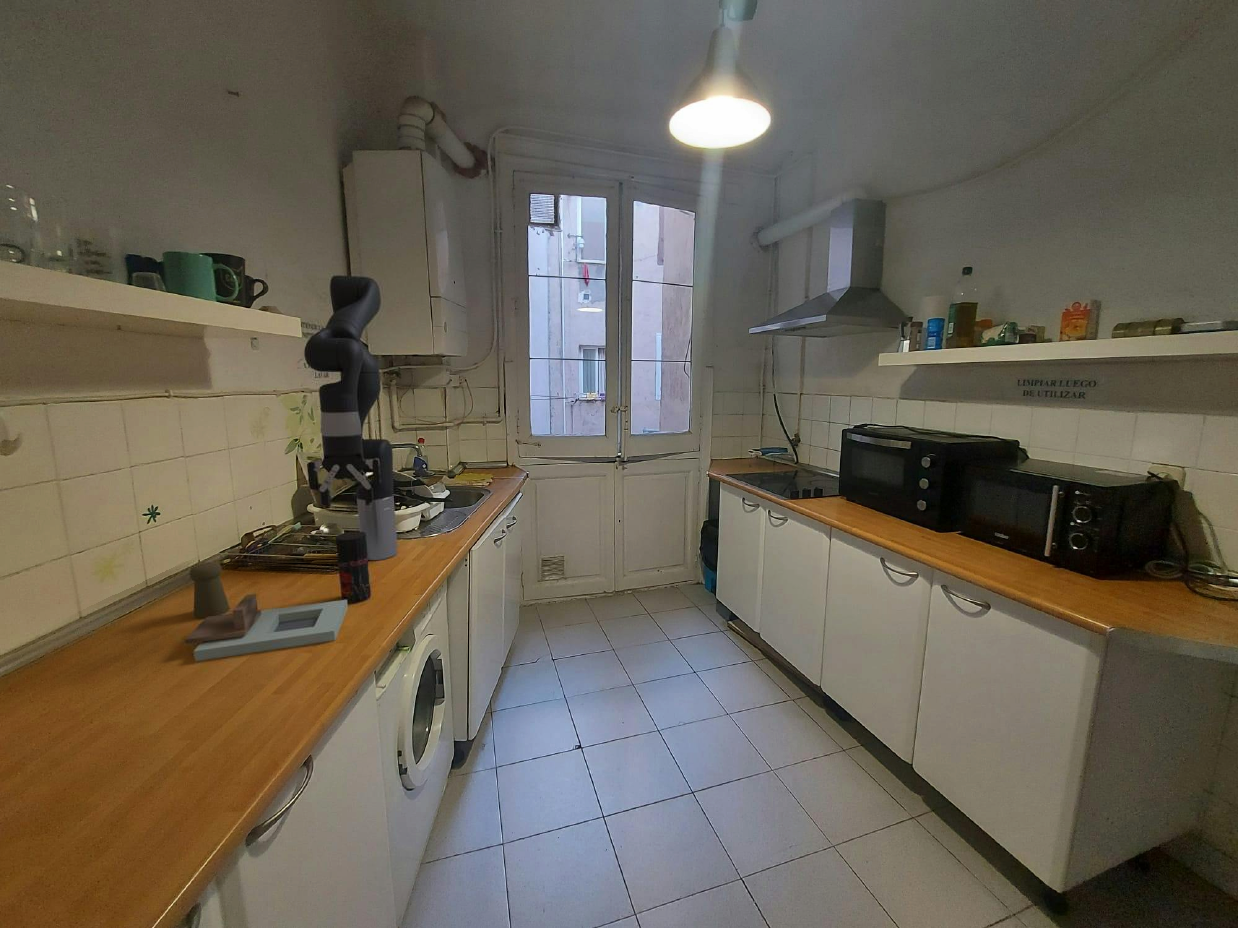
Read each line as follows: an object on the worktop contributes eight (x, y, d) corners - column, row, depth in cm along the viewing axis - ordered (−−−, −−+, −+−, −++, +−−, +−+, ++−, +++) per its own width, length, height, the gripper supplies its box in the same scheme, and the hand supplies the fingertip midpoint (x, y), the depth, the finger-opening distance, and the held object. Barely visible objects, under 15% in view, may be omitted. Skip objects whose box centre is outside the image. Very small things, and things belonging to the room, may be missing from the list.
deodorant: (375, 597, 112) (369, 535, 109) (347, 606, 108) (341, 541, 105) (365, 589, 116) (360, 529, 113) (338, 597, 112) (331, 535, 109)
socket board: (226, 623, 100) (225, 614, 99) (347, 607, 107) (347, 599, 107) (195, 661, 87) (193, 651, 86) (335, 640, 94) (334, 630, 94)
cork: (214, 619, 101) (206, 569, 99) (185, 618, 101) (177, 569, 99) (237, 605, 107) (230, 558, 105) (210, 605, 107) (203, 558, 105)
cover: (207, 620, 96) (204, 597, 95) (261, 613, 99) (258, 591, 98) (185, 643, 88) (181, 619, 87) (245, 635, 91) (241, 611, 90)
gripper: (380, 430, 111) (385, 499, 114) (307, 431, 106) (315, 504, 109) (376, 433, 104) (381, 507, 107) (298, 435, 99) (306, 513, 102)
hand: (348, 505), depth 108 cm, fingers open, 7 cm apart
